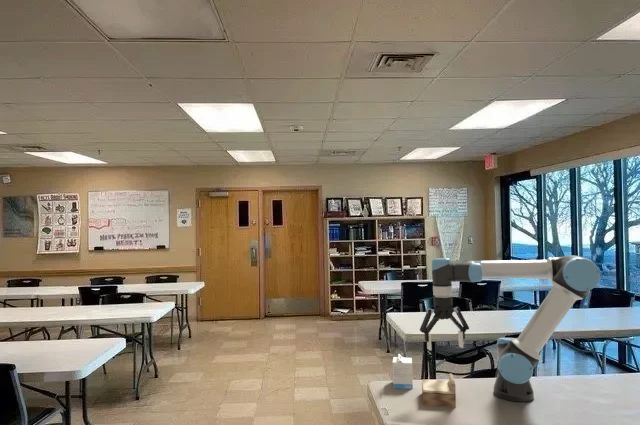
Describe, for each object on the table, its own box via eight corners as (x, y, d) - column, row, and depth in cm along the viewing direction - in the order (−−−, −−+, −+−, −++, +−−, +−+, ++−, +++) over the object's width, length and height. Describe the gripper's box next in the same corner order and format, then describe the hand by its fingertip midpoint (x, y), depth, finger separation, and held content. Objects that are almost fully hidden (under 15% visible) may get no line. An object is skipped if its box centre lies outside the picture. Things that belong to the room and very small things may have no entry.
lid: (452, 383, 174) (452, 373, 174) (455, 394, 162) (455, 384, 162) (422, 381, 176) (422, 371, 176) (423, 392, 164) (423, 382, 165)
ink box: (412, 391, 180) (412, 359, 181) (392, 389, 182) (392, 358, 183) (412, 383, 189) (412, 353, 189) (393, 382, 191) (392, 352, 191)
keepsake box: (452, 397, 174) (452, 383, 174) (455, 409, 162) (455, 395, 162) (422, 395, 176) (422, 381, 176) (423, 407, 164) (423, 392, 164)
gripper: (467, 293, 180) (469, 343, 179) (410, 296, 177) (412, 348, 176) (475, 295, 172) (478, 348, 171) (416, 299, 169) (419, 353, 168)
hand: (445, 348), depth 173 cm, fingers open, 13 cm apart
